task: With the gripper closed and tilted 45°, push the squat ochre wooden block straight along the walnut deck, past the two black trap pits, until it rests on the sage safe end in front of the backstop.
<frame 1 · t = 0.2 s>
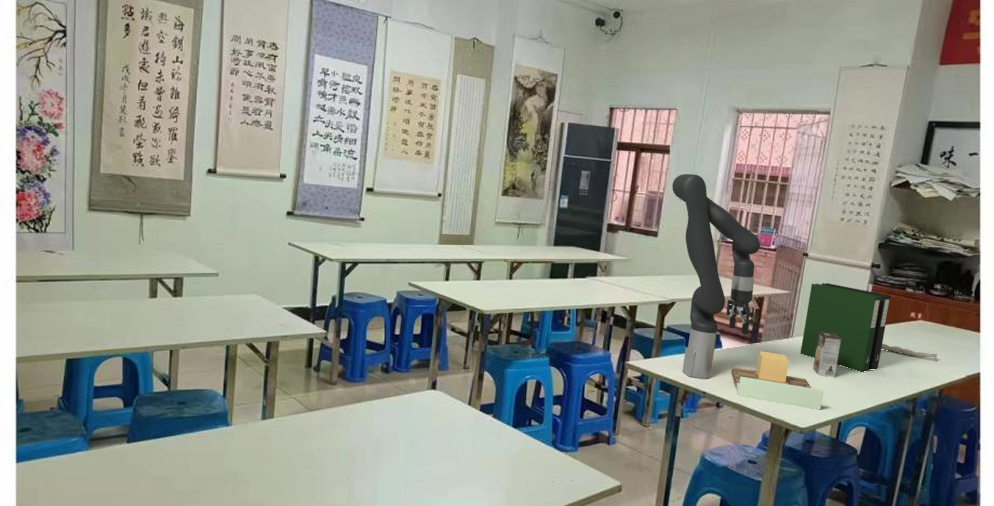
hand: (738, 330, 246), 18 cm above the table, tool pointing down, fingers open, 8 cm apart
sage safe end: (776, 398, 226), on the table
coffee box: (823, 373, 266), on the table
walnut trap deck: (772, 390, 236), on the table
binder: (837, 361, 289), on the table
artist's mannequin: (898, 354, 317), on the table
ochre block: (770, 376, 244), point 2 cm above the table, touching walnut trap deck
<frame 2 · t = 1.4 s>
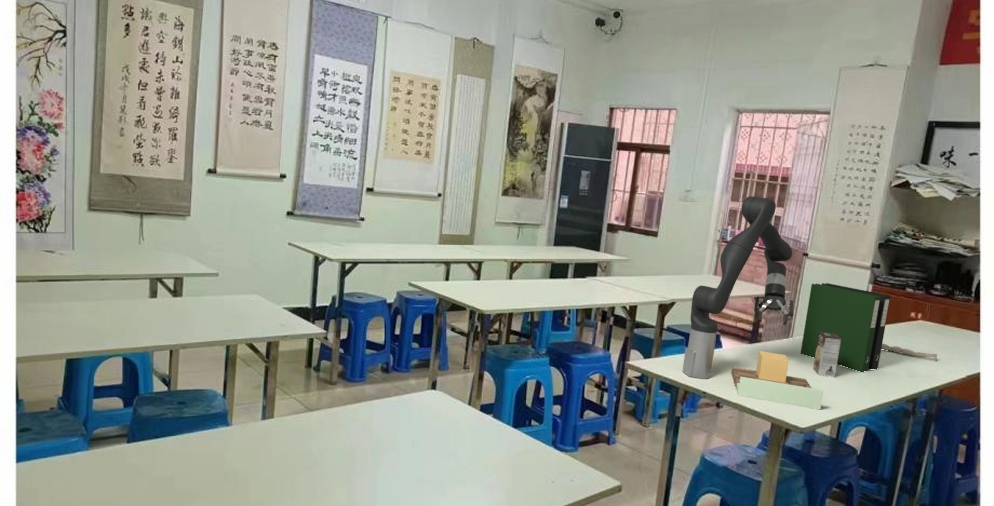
hand: (772, 322, 258), 19 cm above the table, tool tilted 40°, fingers open, 8 cm apart
nothing on the table moved.
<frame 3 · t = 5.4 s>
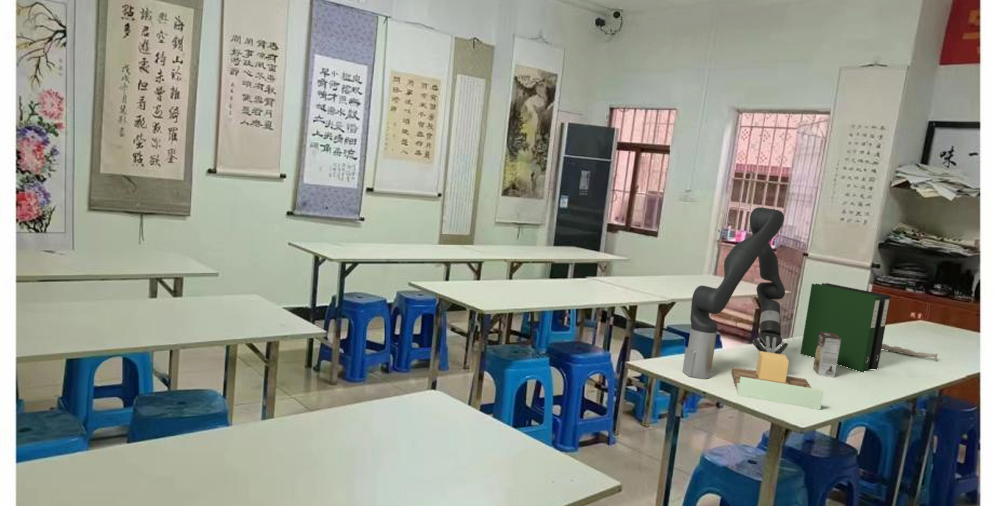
hand: (769, 363, 248), 6 cm above the table, tool tilted 45°, fingers closed
ochre block: (770, 376, 244), point 3 cm above the table, touching gripper
everything else where it was.
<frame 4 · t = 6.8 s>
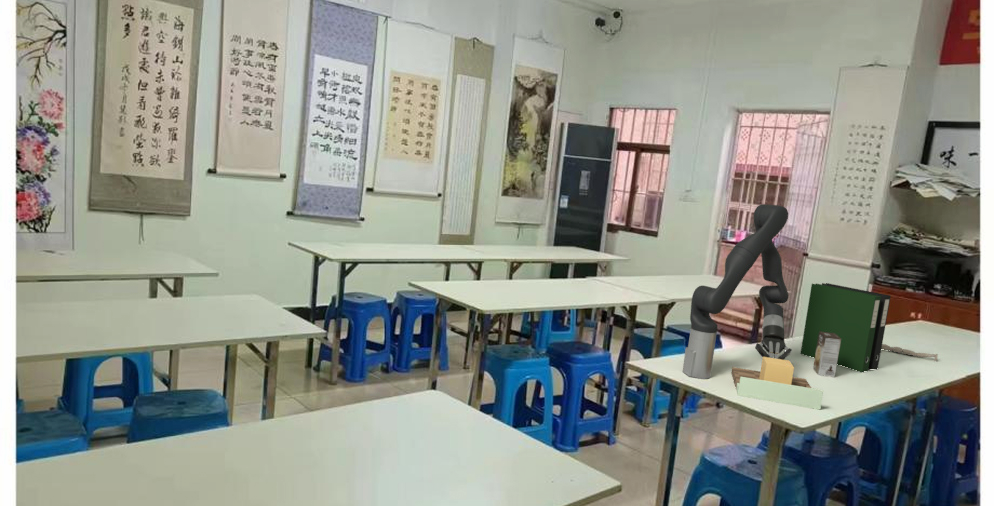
hand: (773, 369, 240), 6 cm above the table, tool tilted 45°, fingers closed
ochre block: (774, 383, 236), point 3 cm above the table, touching gripper
everything else where it was.
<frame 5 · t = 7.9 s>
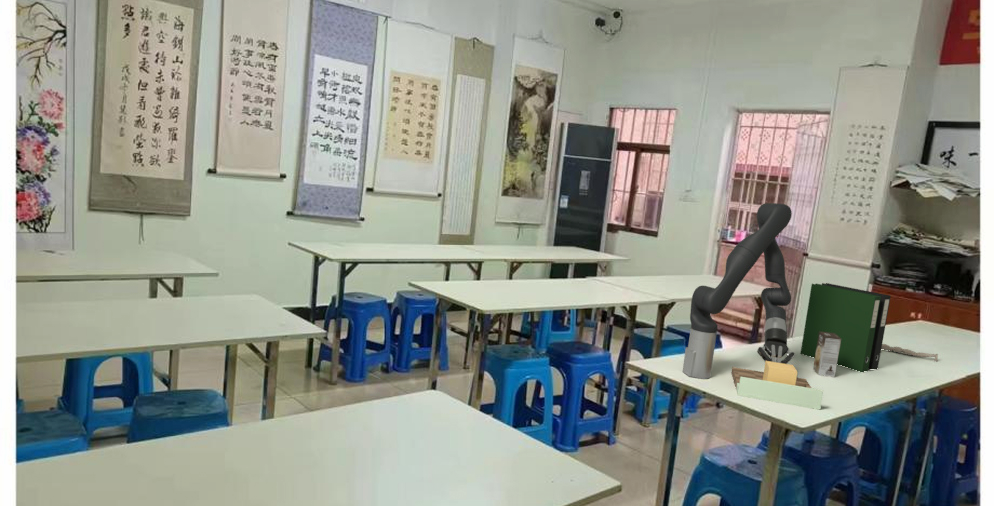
hand: (775, 373, 235), 6 cm above the table, tool tilted 45°, fingers closed
ochre block: (777, 388, 230), point 3 cm above the table, touching gripper
everything else where it was.
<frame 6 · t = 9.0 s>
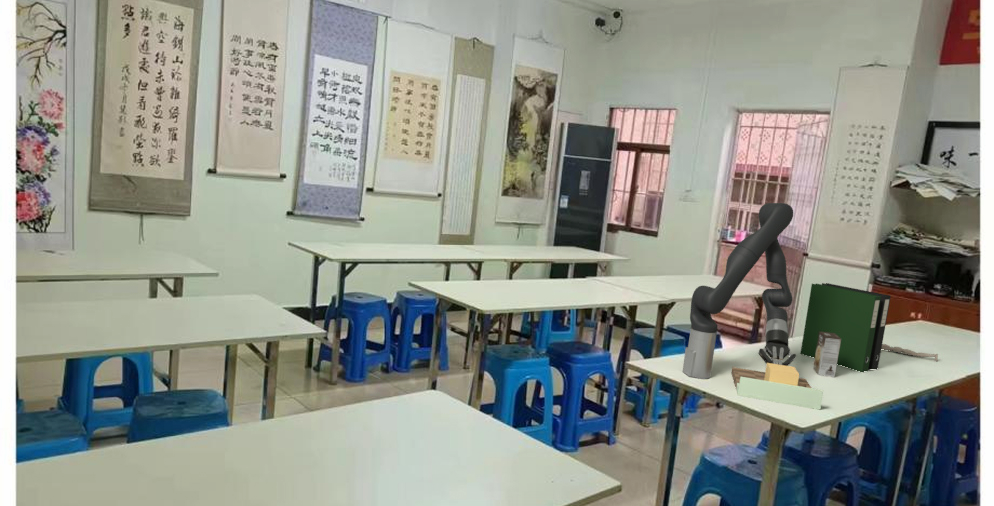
hand: (777, 375, 232), 6 cm above the table, tool tilted 45°, fingers closed
ochre block: (779, 390, 228), point 3 cm above the table, touching gripper
everything else where it was.
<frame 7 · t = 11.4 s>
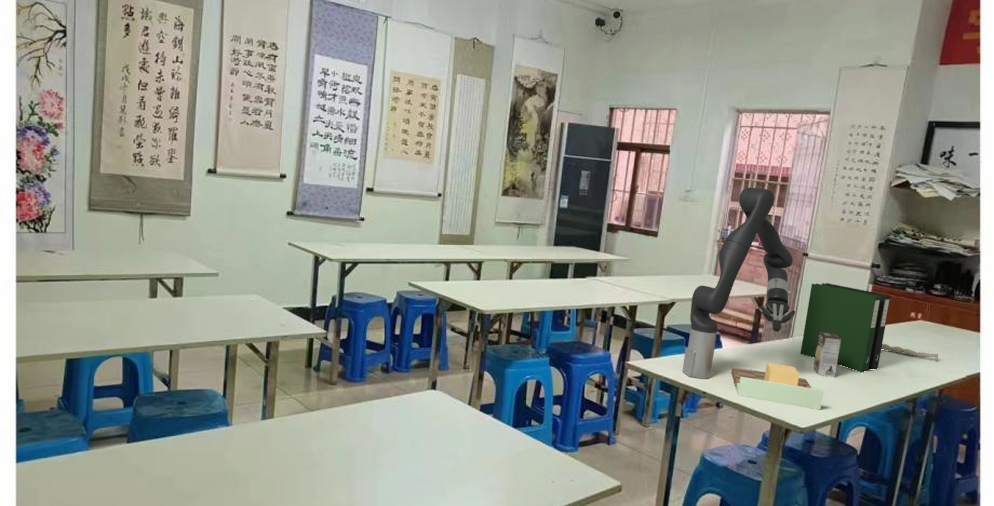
hand: (776, 330, 244), 20 cm above the table, tool tilted 45°, fingers closed
ochre block: (779, 390, 228), point 2 cm above the table, touching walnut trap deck
everything else where it was.
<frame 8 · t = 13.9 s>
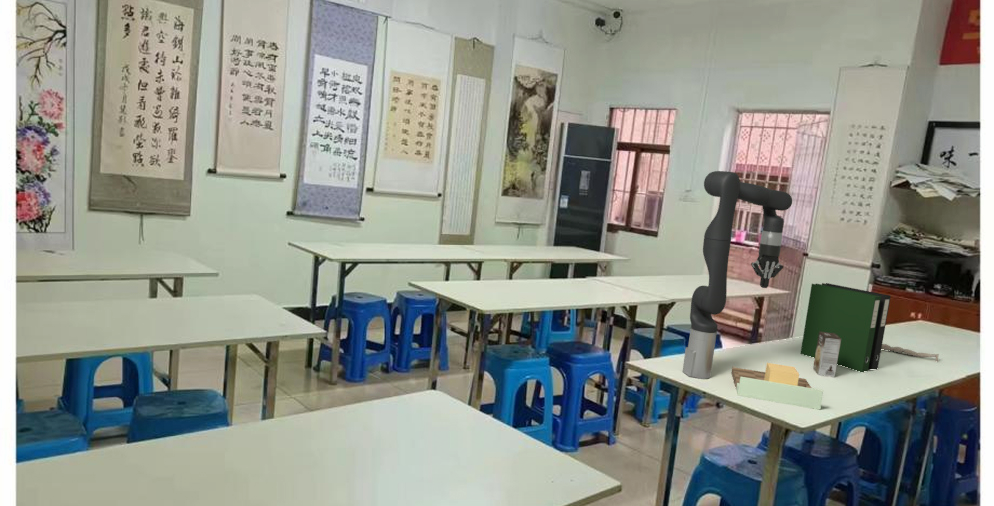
hand: (763, 287, 256), 33 cm above the table, tool pointing down, fingers closed
nothing on the table moved.
at the end: ochre block 1.9 cm from the sage safe end (horizontally); ochre block tilted 0°; ochre block point 2.5 cm above the table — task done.
